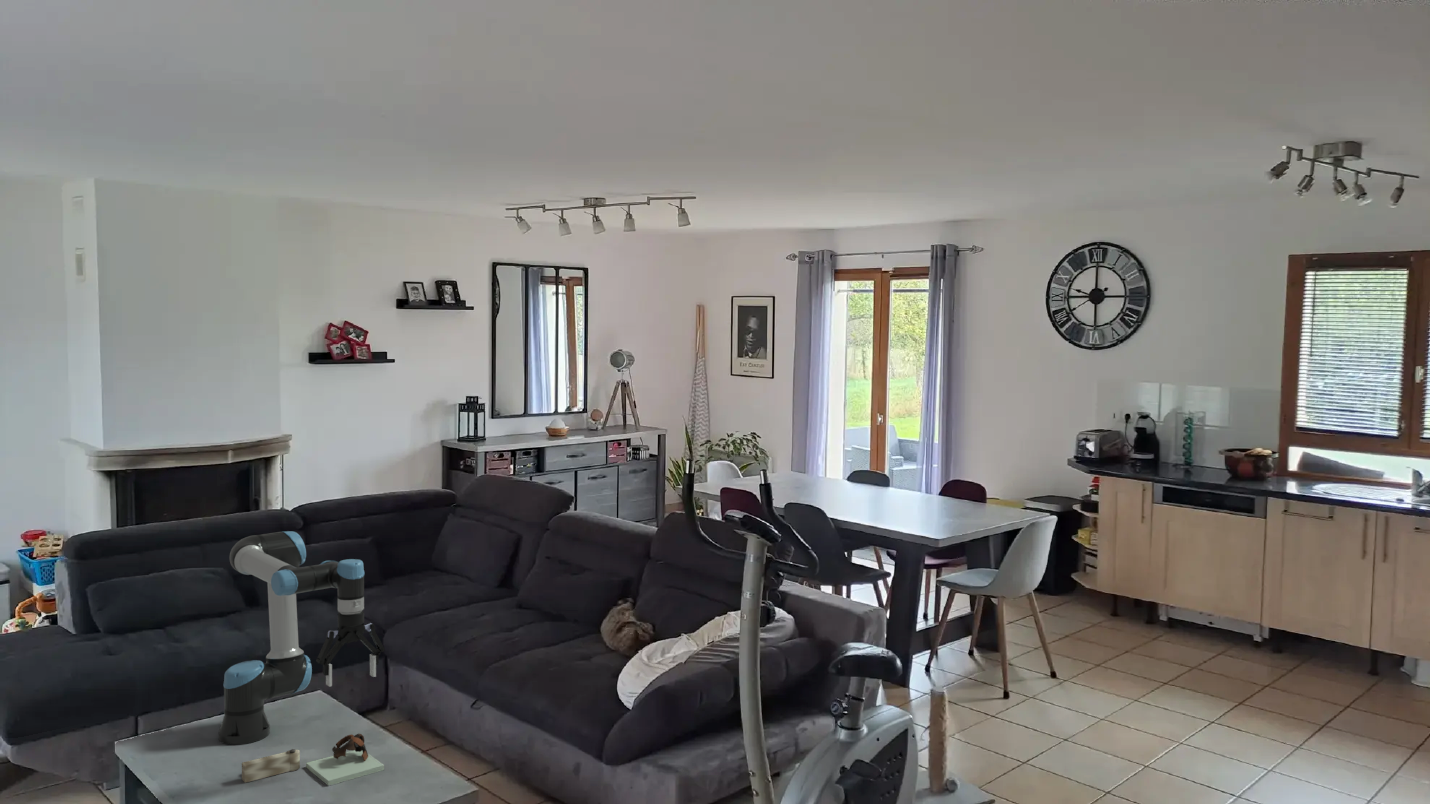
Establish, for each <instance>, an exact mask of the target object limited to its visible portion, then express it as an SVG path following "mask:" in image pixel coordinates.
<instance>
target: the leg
mask: <svg viewBox="0 0 1430 804" xmlns="http://www.w3.org/2000/svg"><path fill="white" fill-rule="evenodd" d="M300 757H301V750H299V749H293V748H292V749H290V750H286V751H283V752H281V753H276V754H272V755H267V756H264V757H260V758H259V757H258V758H254V759H251V760H247V761H243V762H241V780H242V781H243V782H244V783H249V782H253V781H257V780H261V779H265V778H268V777H273V776H276V775H280V774H284V773H288V772H294V771H298V770H300V767H301V762H300V761H301V759H300Z"/></svg>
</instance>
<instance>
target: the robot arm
mask: <svg viewBox="0 0 1430 804" xmlns="http://www.w3.org/2000/svg"><path fill="white" fill-rule="evenodd" d="M306 558H307V549H306V545H305V542H304V540H303V538H302V537H301V535H300V534H299V533H298V532H296V531H289V530H287V531H277V532H270V533H263V534H256V535H255V534H254V535H249V536H246V537H244V538H241V539H240V540H239V541H237V542H236V543H235V544H234V545H233V546H232V548H231V549H230V553H229V562H230V566H231V567H232V569H234V570H235V571H236V572H238V573H240V574H242V575H244V576H245V575H247V576H249V575H252V576H253V577H255V578H258V579H260V580H262V581H264V582H266V583H267V600H268V602H267V603H268V620H269V640H270V641H269V642H270V644H269V645H270V651H269V652H268V653H267V655H266V656H265V662H263V661H262V660H259V659H258V660H257V659H252V660H245V661H242V662H241V661H240V662H238V663H236V664H233V665H231V666H230V667H229V668H227V670H226V671H225V672H224V674H223V675H224V679H223V680H224V681H223V705H224V707H223V708H224V711H223V713H224V714H223V718H222V721H221V724H220V727H219V731H218V741H219V743H222V744H226V745H246V744H251V743H254V742H255V743H256V742H258V741H260V740H263V739H265V738H266V737H268V736H269V735H270V734H271V726H270V723H269V720H268V717H267V714H266V712H265V706H264V705H265V701H266V700H270V699H274V698H275V699H276V698H278V697H283V696H286V695H294V694H295V693H298V692H301V691H304V690H305V689H306V688H307V687H308V686H309V684H310V683H311V679H312V674H313V673H312V672H313V669H312V668H313V667H312V663H311V658H310V657H309V656H308V655H306V654H305V652H304V650H303V649H301V648H300V647H299V646H300V645H299V629H298V610H297V607H298V606H297V605H298V604H297V594H301V593H307V592H313V591H318V590H324V589H325V590H326V589H330V588H333V589H337V629H336V630H331V629H328V630H327V631H326V636H325V637H326V638H325V640H324V641H323V644H322V647H321V649H320V651H319V654H318V655H317V658H316V660H315V662H316V663H317V664H319V665H322V674H323V676H325V686H328V687H332V686H333V664H331V662H332V660H333V659H334V658H335V656H336V655H337V653H339V651H340V649H342V647H343V646H344V645H345V644H350V643H352V642H353V643H357V642H359V641H360V642H361V643H362V644H363V645H364V646H365V647H366V648H367V649H368V650H369V651H370V652H371V653H370V654H369V676H371V677H373V678H374V677H375V678H376V677H377V666H378V665H379V661H380V659H379V658H380V657H379V656H380V655H381V653H383V652H385V646H384V644H382V641H381V639H380V637H379V636H378V634H377V632H376V629H375V628H376V627H375V624H374V623H371V622H367V624H365V612H364V610H365V570H364V569H365V568H364V562H363V560H361V559H357V558H355V559H354V558H349V559H343V560H340V561H336V560H325V561H322V562H321V563H320V564H315V565H308V566H301V565H303V564H304V563H305V562H306ZM300 566H301V567H300ZM364 632H368V633H369V636H370V638H371V639H372V642H373V644H374V645H375V646H376V647H375V646H374V645H373V644H372V643H371V642H370V641H369V640H368V639H367V637H365V636H364ZM337 636H338V637H337ZM336 637H337V639H336V640H335V638H336ZM334 640H335V642H334ZM333 642H334V644H333ZM332 645H333V646H332ZM330 648H331V649H330Z"/></svg>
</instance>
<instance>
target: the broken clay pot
mask: <svg viewBox="0 0 1430 804" xmlns="http://www.w3.org/2000/svg"><path fill="white" fill-rule="evenodd" d="M353 750H355V751H356V752H361V751H363V754H362V757H363V760H364V761H365V760H366V759H367V758H368V754H369V753H368V750H367V748H366V744H365V736H364V735H363V734H362V733H357V734H355V735H353V734H352V733H351V734H348V735H345V736H344V737H343V738H341V739H340V740H338V742H336V743H335V745H334V746H333V747H332V749H331V751H332V752H333V755H332V756H334V758H336V759H338V757H340V756H345V757H346V752H347V751H353Z"/></svg>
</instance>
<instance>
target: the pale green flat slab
mask: <svg viewBox="0 0 1430 804" xmlns="http://www.w3.org/2000/svg"><path fill="white" fill-rule="evenodd" d="M362 754H363V751H361V752H356V751H355V750H348V751H346V757H345V756H340V757H338V759H336V758H334V756H333V755H331V756H327V757H324V758H320V759H316V760H313V761H308V762H305V764H306V765H305V768H307V769H308V771H309V772H311V773H312V774H313V775H314V776H316V777H317V778H318V779H319V780H320V781H322V782H323V783H325V785H327V786H328V787H330V786H333V785H336V784H339V783H342V782H343V783H344V782H347V781H350V780H354V779H357V778H360V777H365V776H368V775H371V774H375V773H378V772H382V771H384V770H385V764H383V762H380V760H378V759H376V758H375V757H374V756H372V755H371V754H370V753H368V758H367V759H366V760H365V761H364V760H363V757H362Z"/></svg>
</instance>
